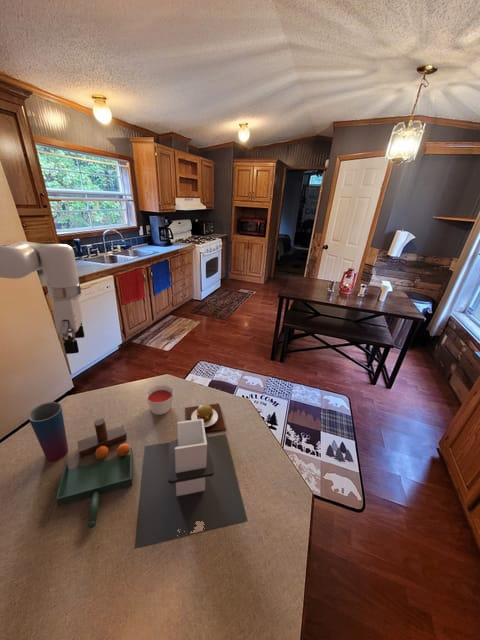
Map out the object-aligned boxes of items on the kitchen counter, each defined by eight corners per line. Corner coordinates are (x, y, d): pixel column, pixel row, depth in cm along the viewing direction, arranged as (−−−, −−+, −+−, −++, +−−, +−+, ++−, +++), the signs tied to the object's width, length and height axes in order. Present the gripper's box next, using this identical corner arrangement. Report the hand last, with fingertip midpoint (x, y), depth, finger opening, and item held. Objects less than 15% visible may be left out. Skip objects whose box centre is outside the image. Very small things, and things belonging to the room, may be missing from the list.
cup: (37, 466, 66) (22, 423, 60) (47, 445, 72) (35, 403, 66) (67, 461, 68) (55, 419, 62) (75, 441, 74) (65, 400, 68)
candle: (142, 407, 88) (140, 393, 85) (164, 395, 94) (163, 381, 92) (157, 421, 83) (156, 406, 80) (179, 407, 89) (179, 393, 87)
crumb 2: (124, 451, 68) (113, 452, 69) (128, 458, 70) (118, 458, 70) (128, 440, 71) (118, 441, 71) (133, 447, 73) (123, 447, 73)
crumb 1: (92, 452, 67) (93, 452, 70) (99, 461, 67) (100, 462, 70) (103, 442, 69) (104, 443, 72) (110, 452, 69) (111, 452, 71)
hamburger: (218, 404, 92) (219, 392, 90) (225, 430, 82) (226, 417, 80) (185, 408, 89) (185, 396, 87) (188, 435, 79) (188, 422, 76)
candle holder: (144, 446, 74) (140, 402, 68) (225, 434, 80) (229, 392, 74) (134, 548, 52) (126, 497, 46) (247, 520, 58) (254, 472, 52)
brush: (79, 447, 72) (73, 425, 69) (124, 430, 78) (121, 409, 75) (80, 458, 69) (74, 435, 66) (127, 439, 76) (124, 418, 72)
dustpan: (67, 470, 66) (65, 463, 65) (132, 454, 71) (131, 447, 70) (48, 546, 51) (45, 538, 50) (132, 518, 57) (131, 511, 56)
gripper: (56, 282, 76) (67, 333, 83) (38, 301, 61) (53, 361, 68) (85, 282, 79) (93, 331, 85) (74, 300, 64) (85, 358, 71)
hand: (75, 344), depth 77 cm, fingers open, 9 cm apart
